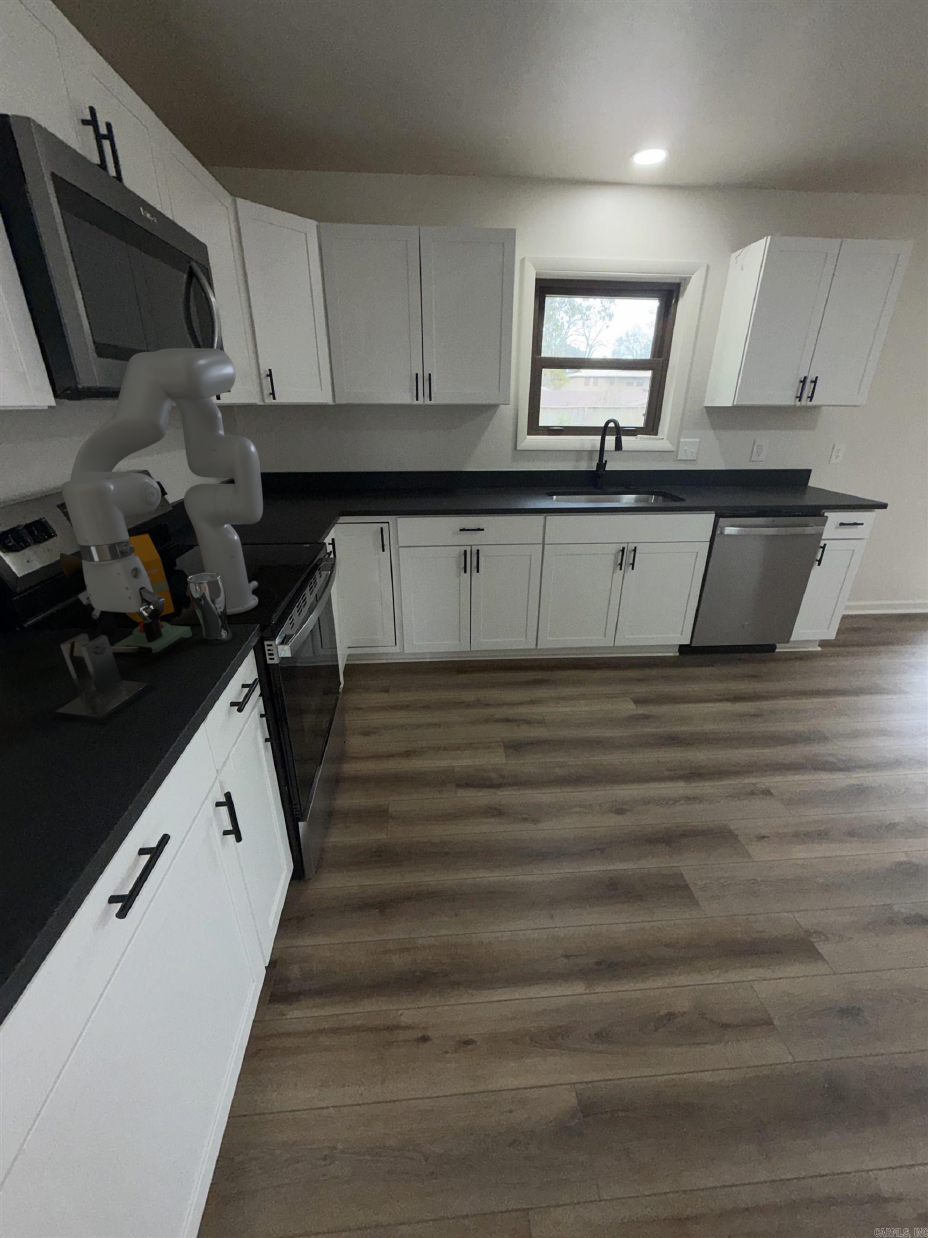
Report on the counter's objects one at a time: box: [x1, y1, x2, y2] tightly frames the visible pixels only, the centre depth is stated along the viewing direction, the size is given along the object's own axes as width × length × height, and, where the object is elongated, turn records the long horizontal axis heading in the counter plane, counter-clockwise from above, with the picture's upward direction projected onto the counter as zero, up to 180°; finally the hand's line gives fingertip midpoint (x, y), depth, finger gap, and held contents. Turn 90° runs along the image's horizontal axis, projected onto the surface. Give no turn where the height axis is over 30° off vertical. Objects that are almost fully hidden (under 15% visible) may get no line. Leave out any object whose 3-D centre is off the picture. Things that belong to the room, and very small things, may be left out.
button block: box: [113, 621, 193, 654], centre depth 110 cm, size 11×10×4 cm
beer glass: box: [186, 571, 233, 642], centre depth 110 cm, size 7×7×15 cm
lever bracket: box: [55, 633, 149, 718], centre depth 87 cm, size 11×9×13 cm
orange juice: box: [125, 533, 175, 623], centre depth 123 cm, size 8×9×20 cm
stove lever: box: [73, 642, 153, 657], centre depth 91 cm, size 13×5×2 cm, turn 170°
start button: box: [138, 619, 162, 633], centre depth 109 cm, size 4×4×2 cm
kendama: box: [59, 552, 112, 615], centre depth 123 cm, size 6×10×20 cm, turn 124°
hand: (132, 637), depth 95 cm, fingers open, 9 cm apart
